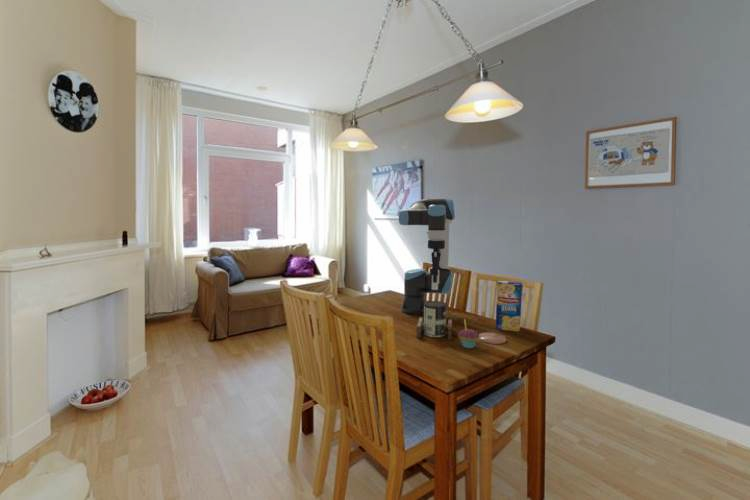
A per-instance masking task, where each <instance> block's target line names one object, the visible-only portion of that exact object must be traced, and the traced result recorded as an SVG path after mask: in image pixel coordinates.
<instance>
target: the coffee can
mask: <svg viewBox="0 0 750 500" xmlns="http://www.w3.org/2000/svg"><path fill="white" fill-rule="evenodd" d="M423 324H424V329H423V334H424V336H426V337H430V338H442V337H446V335H447V330H446V326H447V302H443V301H439V300H438V301H437V300H428V301H426V302H425V303H424V313H423Z"/></svg>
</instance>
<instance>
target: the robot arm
mask: <svg viewBox="0 0 750 500" xmlns="http://www.w3.org/2000/svg"><path fill="white" fill-rule="evenodd" d="M398 211H399V212H398V223H399V225H400V226H427V230H428V231H426V235H427V238H428V240H427V248H428V249H429V250H430V249H431V250H432V252H431V262H432V263H431V267H430V268H429V271H426V269H425V268H413V269H409V270H407V271H405V272H404V279H403V280H404V285H403V286H404V291H403V292H404V297H403V299H402V303H401V306H400V310H401V312H403V313H405V314H408V315H409V314H411V315H421V314H423V315H424V303H425V302H427V299H426V294H441V295H446V294H450V293H451V292H452V287H453V286H452V285H453V279H454V273H453V272H452V269H451V268H450V267H449V253H450V252H449V251H450V249H449V248H450V225H451V224H452V223H453V220H455V219H456V215H455V206H454V201H453V199H451V198H425V199H420V200H417V201H415V202H413V203H411V205H410V207H409V208H407V209H406V208H405V209H399V210H398Z"/></svg>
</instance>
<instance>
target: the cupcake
mask: <svg viewBox="0 0 750 500" xmlns="http://www.w3.org/2000/svg"><path fill="white" fill-rule="evenodd" d="M463 323H464V329H462V330H460V331H458V334H457V335H458V339H460V341H461V345H462V347H463V348H465V349H473V348H475V345H476V343H477V341H480V340H479V339H480V336H479V334H480V333H478V332H477V331H476V330H475V329H472V328H468V327H467V321H466V319H465V317H463Z"/></svg>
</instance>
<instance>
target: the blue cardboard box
mask: <svg viewBox="0 0 750 500" xmlns="http://www.w3.org/2000/svg"><path fill="white" fill-rule="evenodd" d="M522 292H523V282H521V281H519V282H518V281H502V280H497V284H496V305H495V306H496V309H495V310H496V311H495V330H502V331H503V330H504V331H512V332H519V331H520V332H521V317H522V315H521V314H522Z"/></svg>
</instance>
